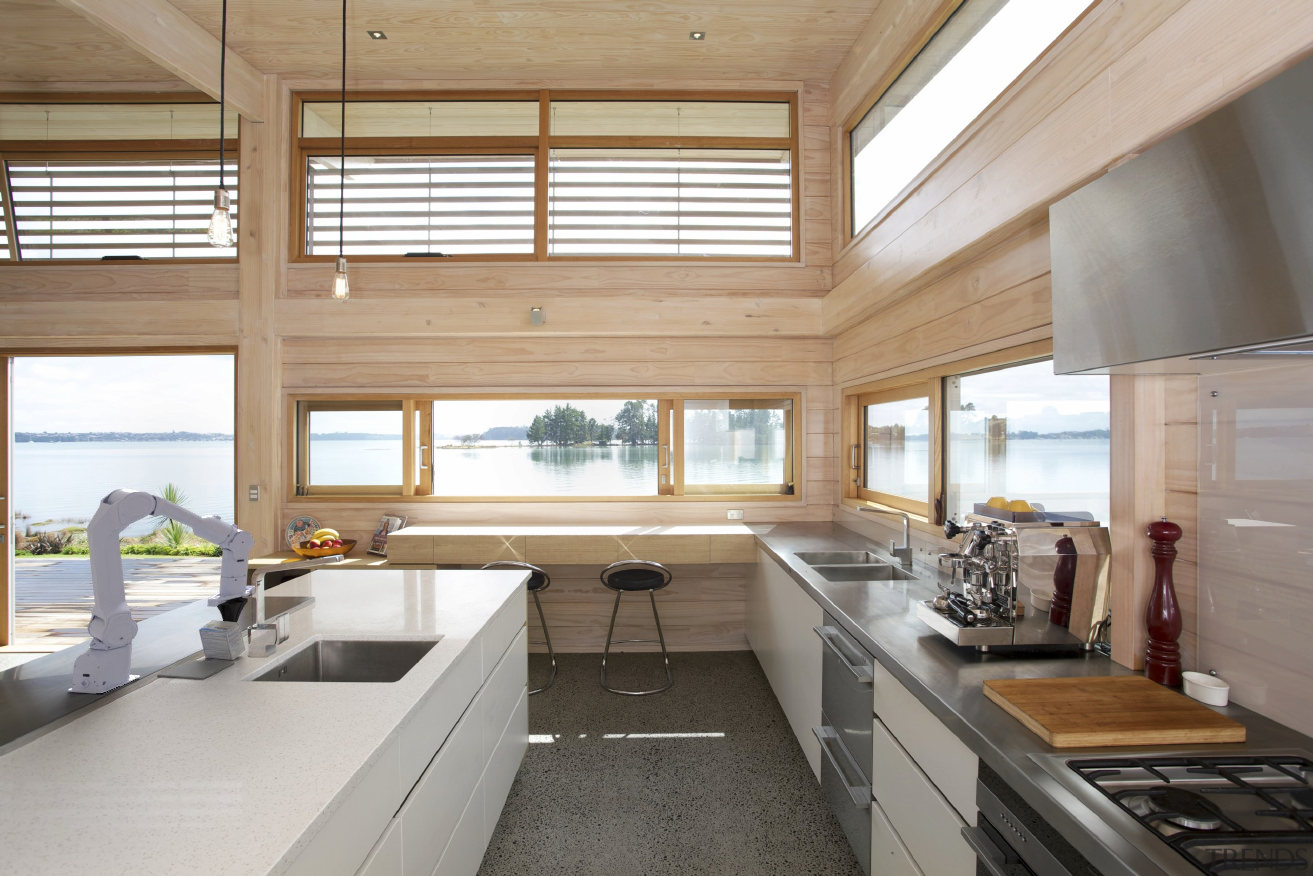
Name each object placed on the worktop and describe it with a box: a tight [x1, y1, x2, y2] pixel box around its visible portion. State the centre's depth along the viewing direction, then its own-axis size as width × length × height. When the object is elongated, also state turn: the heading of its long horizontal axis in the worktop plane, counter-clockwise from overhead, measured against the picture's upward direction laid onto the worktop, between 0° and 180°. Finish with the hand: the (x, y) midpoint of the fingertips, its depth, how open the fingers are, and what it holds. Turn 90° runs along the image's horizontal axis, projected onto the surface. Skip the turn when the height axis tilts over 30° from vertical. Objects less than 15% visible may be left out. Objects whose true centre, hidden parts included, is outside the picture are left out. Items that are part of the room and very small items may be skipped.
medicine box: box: [198, 619, 246, 661], centre depth 153 cm, size 8×4×9 cm, turn 84°
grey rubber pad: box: [156, 659, 235, 680], centre depth 144 cm, size 10×11×1 cm
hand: (230, 627), depth 155 cm, fingers closed
